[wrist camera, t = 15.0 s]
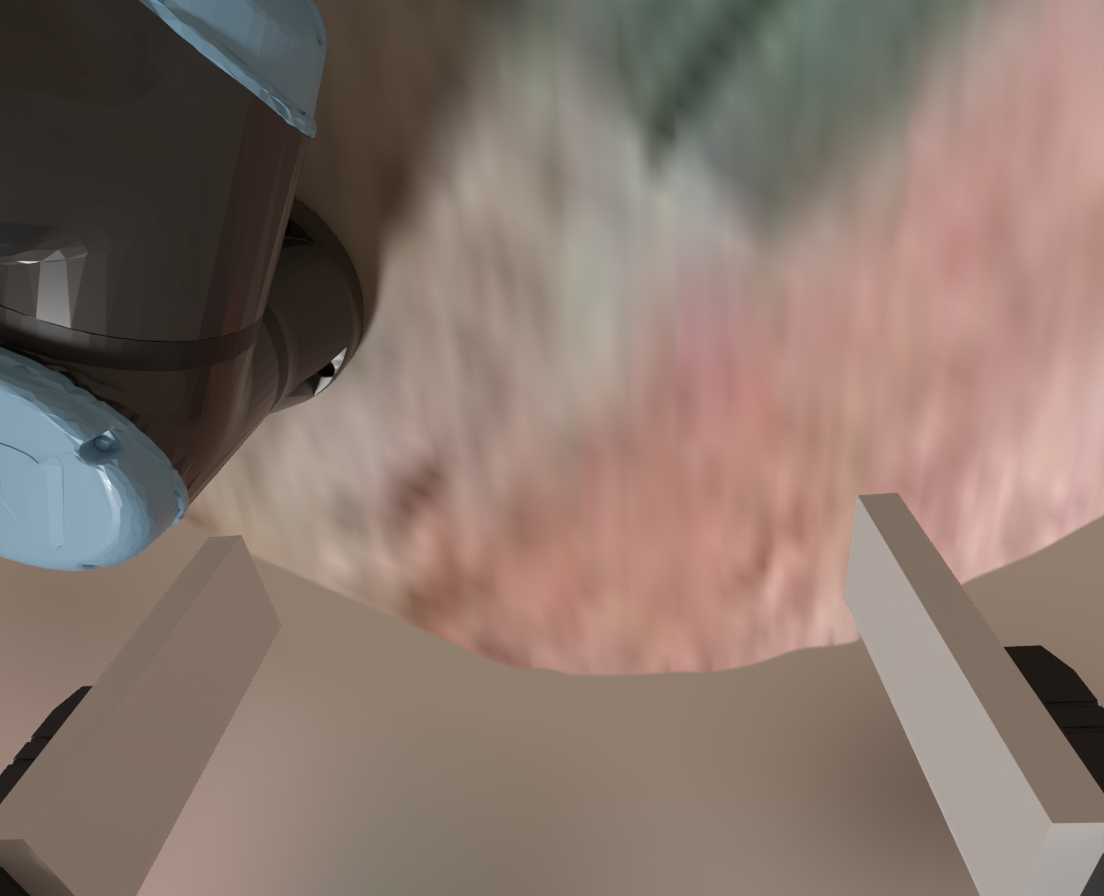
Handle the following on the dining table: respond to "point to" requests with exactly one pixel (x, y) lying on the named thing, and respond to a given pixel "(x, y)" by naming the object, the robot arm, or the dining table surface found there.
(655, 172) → the dining table surface
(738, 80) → the dining table surface
